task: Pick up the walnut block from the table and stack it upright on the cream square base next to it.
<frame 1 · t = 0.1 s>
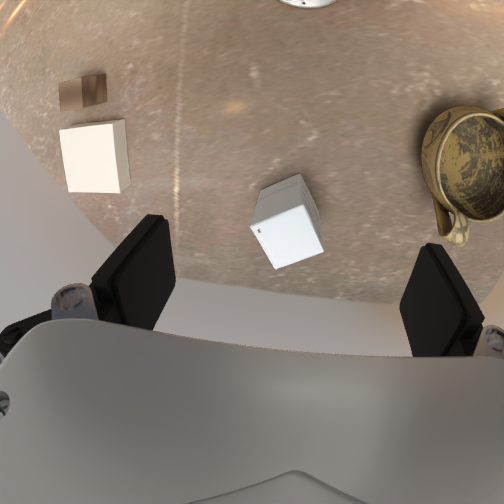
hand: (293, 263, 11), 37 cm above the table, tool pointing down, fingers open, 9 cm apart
supplement box: (290, 199, 49), on the table
walnut block: (95, 89, 41), on the table
ceramic bowl: (452, 149, 39), on the table
base: (100, 153, 48), on the table
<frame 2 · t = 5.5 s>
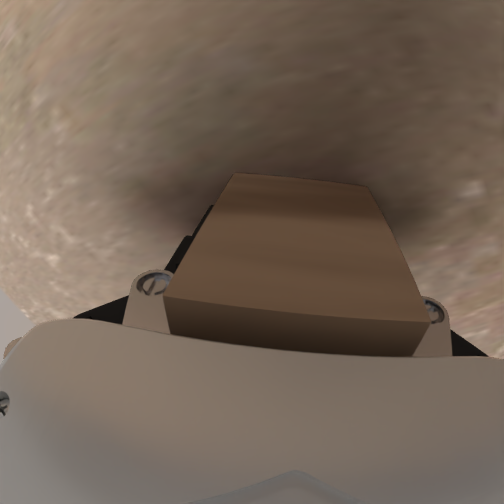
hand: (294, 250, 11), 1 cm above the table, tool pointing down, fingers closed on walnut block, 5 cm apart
walnut block: (295, 237, 12), on the table, touching gripper
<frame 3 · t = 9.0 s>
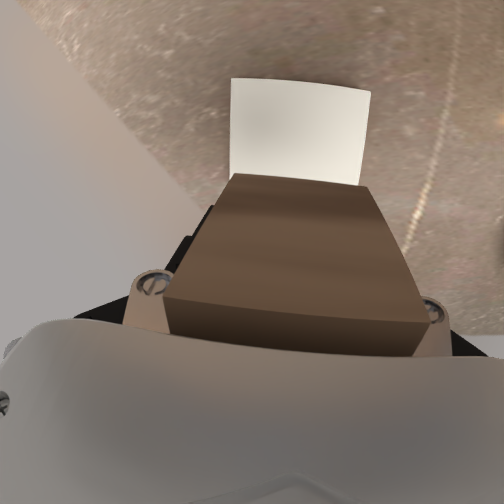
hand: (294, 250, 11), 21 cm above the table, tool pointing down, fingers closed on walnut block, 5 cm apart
walnut block: (294, 237, 12), point 20 cm above the table, touching gripper
base: (296, 138, 29), on the table
when the fingers open (6 cm above the table, at t = 12.4 s): walnut block drops 1 cm, resting on base.
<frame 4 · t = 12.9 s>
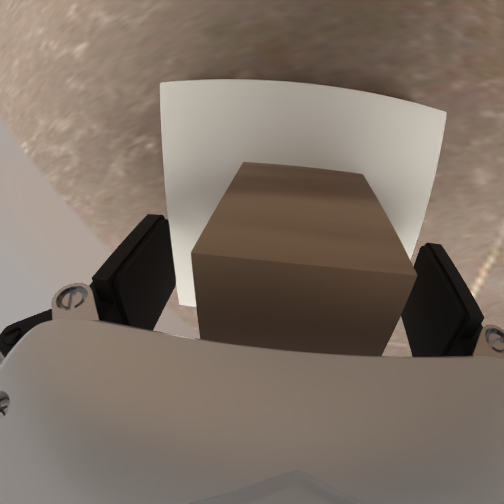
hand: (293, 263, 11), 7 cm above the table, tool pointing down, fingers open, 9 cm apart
walnut block: (298, 220, 13), point 4 cm above the table, touching base
base: (296, 189, 17), on the table
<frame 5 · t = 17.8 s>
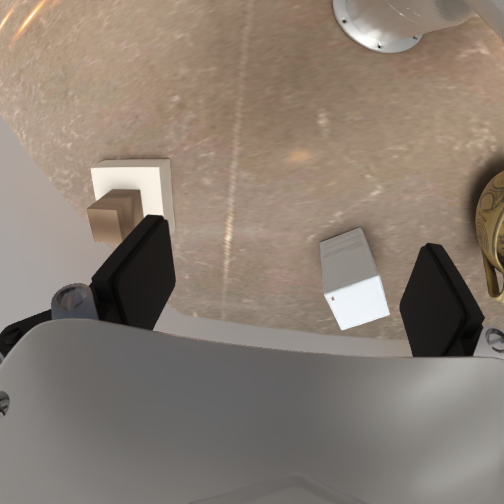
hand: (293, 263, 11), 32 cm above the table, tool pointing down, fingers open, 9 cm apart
supplement box: (347, 251, 47), on the table
walnut block: (128, 204, 43), point 4 cm above the table, touching base
ceramic bowl: (498, 202, 38), on the table
base: (138, 194, 46), on the table
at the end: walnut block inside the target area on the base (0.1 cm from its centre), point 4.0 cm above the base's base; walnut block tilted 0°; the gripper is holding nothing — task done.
